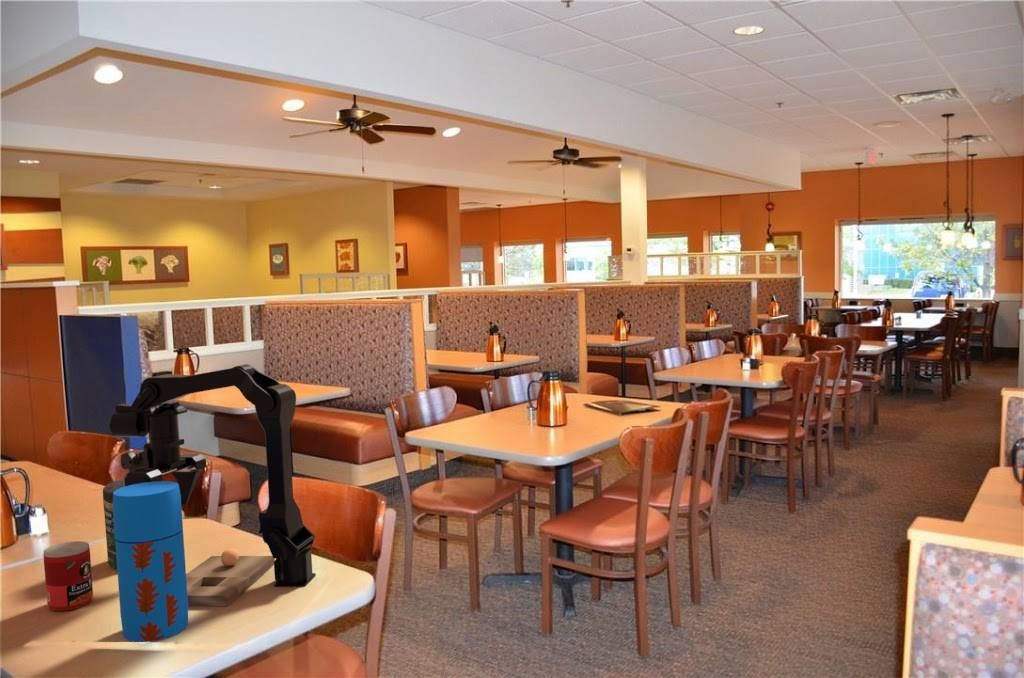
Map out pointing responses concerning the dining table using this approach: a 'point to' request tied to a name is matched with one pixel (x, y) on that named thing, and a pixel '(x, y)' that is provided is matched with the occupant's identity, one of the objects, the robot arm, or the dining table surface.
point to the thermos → (150, 560)
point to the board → (224, 579)
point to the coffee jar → (110, 520)
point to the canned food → (68, 575)
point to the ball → (229, 557)
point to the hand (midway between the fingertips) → (169, 511)
